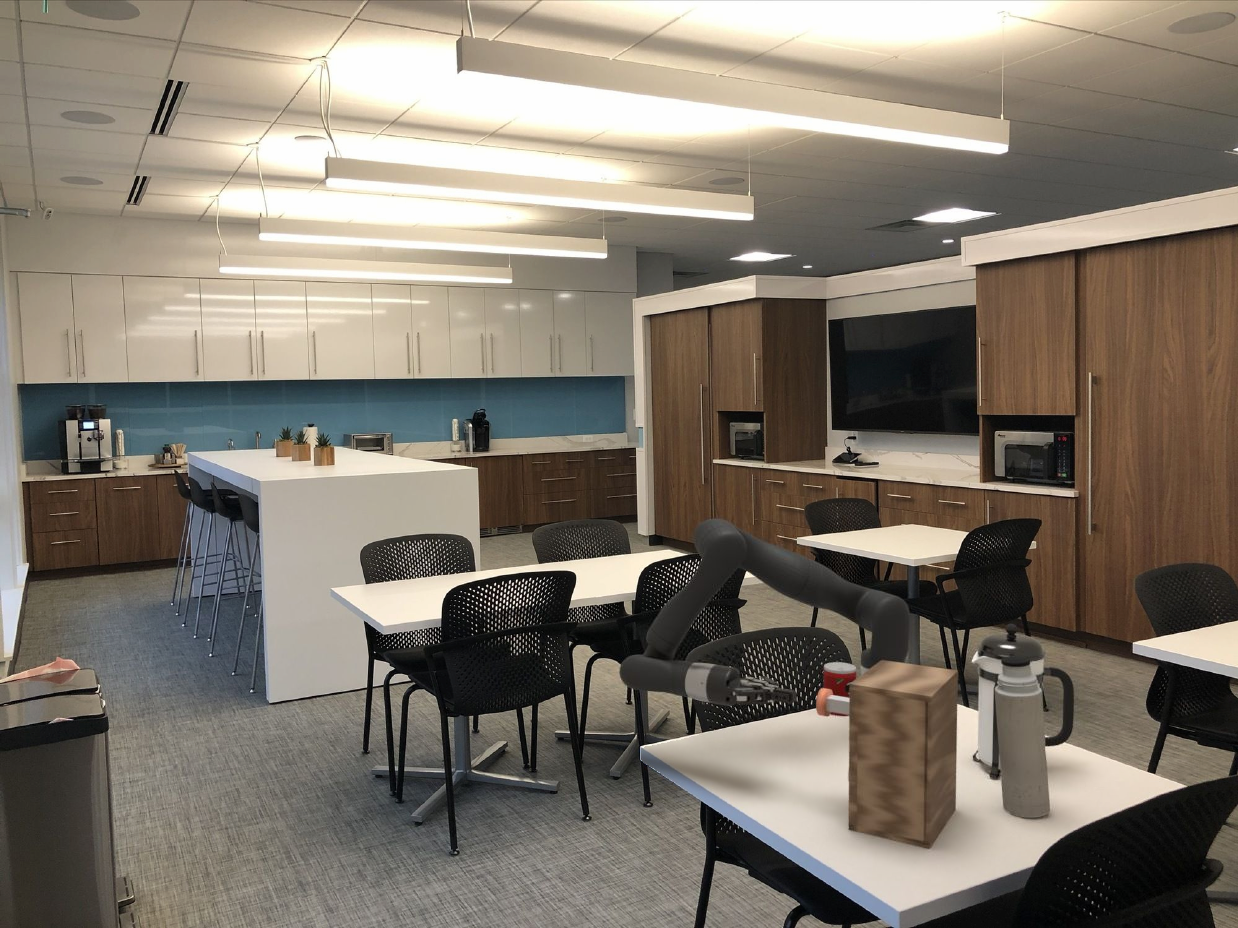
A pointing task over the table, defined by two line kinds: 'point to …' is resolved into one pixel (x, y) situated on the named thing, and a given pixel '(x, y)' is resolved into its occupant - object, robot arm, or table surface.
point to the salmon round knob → (831, 703)
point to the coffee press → (988, 672)
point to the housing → (903, 751)
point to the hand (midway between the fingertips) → (794, 697)
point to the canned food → (839, 679)
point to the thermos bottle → (1021, 739)
